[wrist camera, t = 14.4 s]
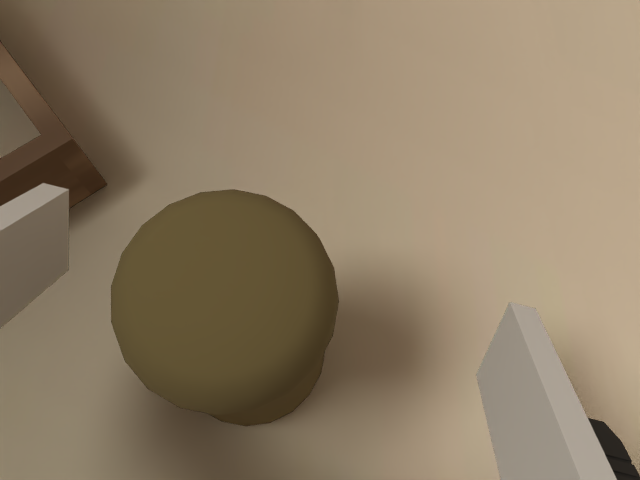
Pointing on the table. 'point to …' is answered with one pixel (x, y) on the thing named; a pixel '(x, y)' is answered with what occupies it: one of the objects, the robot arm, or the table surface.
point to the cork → (226, 306)
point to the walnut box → (42, 146)
